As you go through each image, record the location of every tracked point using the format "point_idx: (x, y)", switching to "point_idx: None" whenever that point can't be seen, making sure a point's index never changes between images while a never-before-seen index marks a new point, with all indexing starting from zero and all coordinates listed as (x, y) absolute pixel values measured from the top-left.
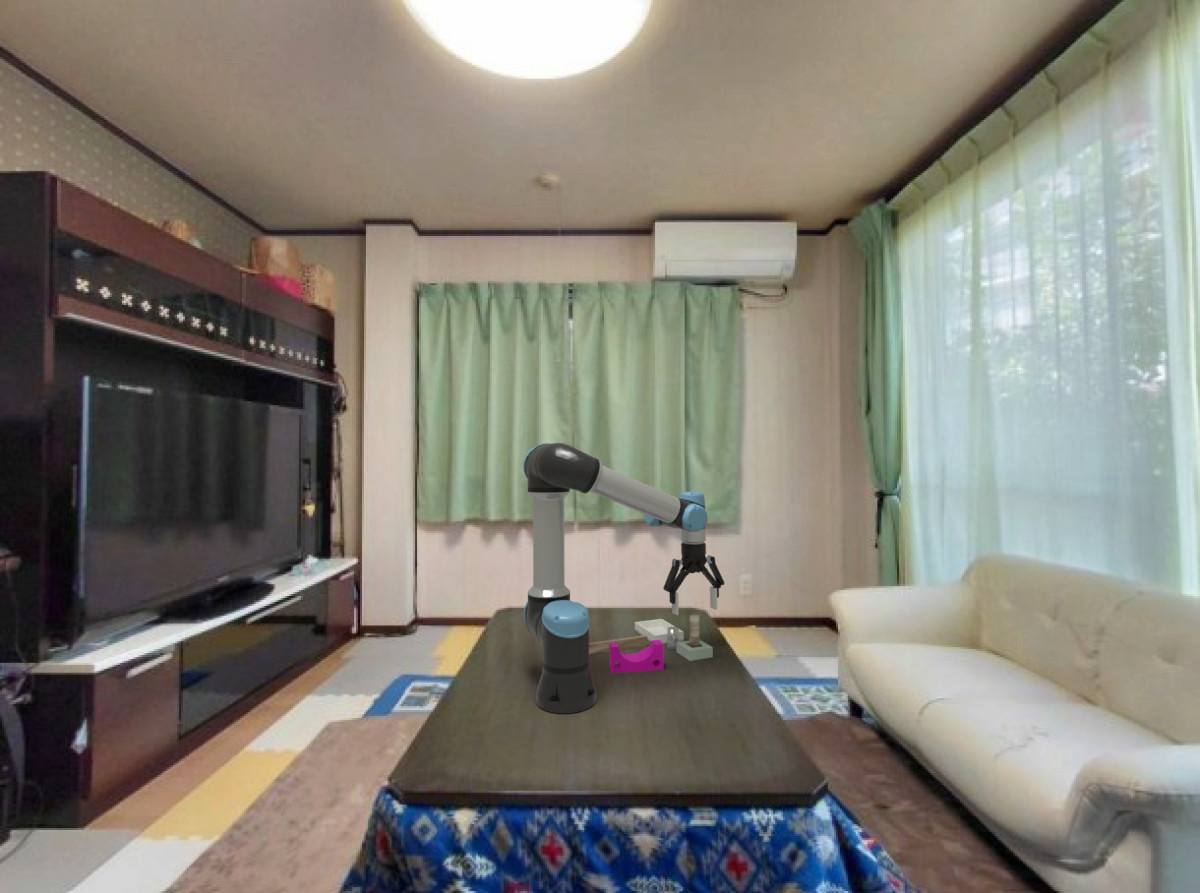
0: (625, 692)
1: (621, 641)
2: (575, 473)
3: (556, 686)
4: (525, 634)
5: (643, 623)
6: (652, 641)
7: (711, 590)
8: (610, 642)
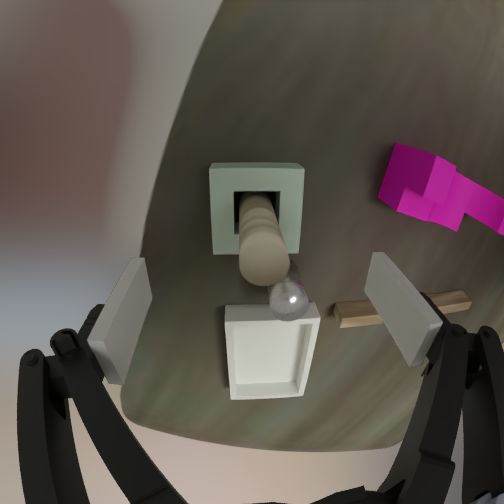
0: (493, 95)
1: None
2: None
3: None
4: None
5: (282, 391)
6: (445, 195)
7: (123, 356)
8: None
